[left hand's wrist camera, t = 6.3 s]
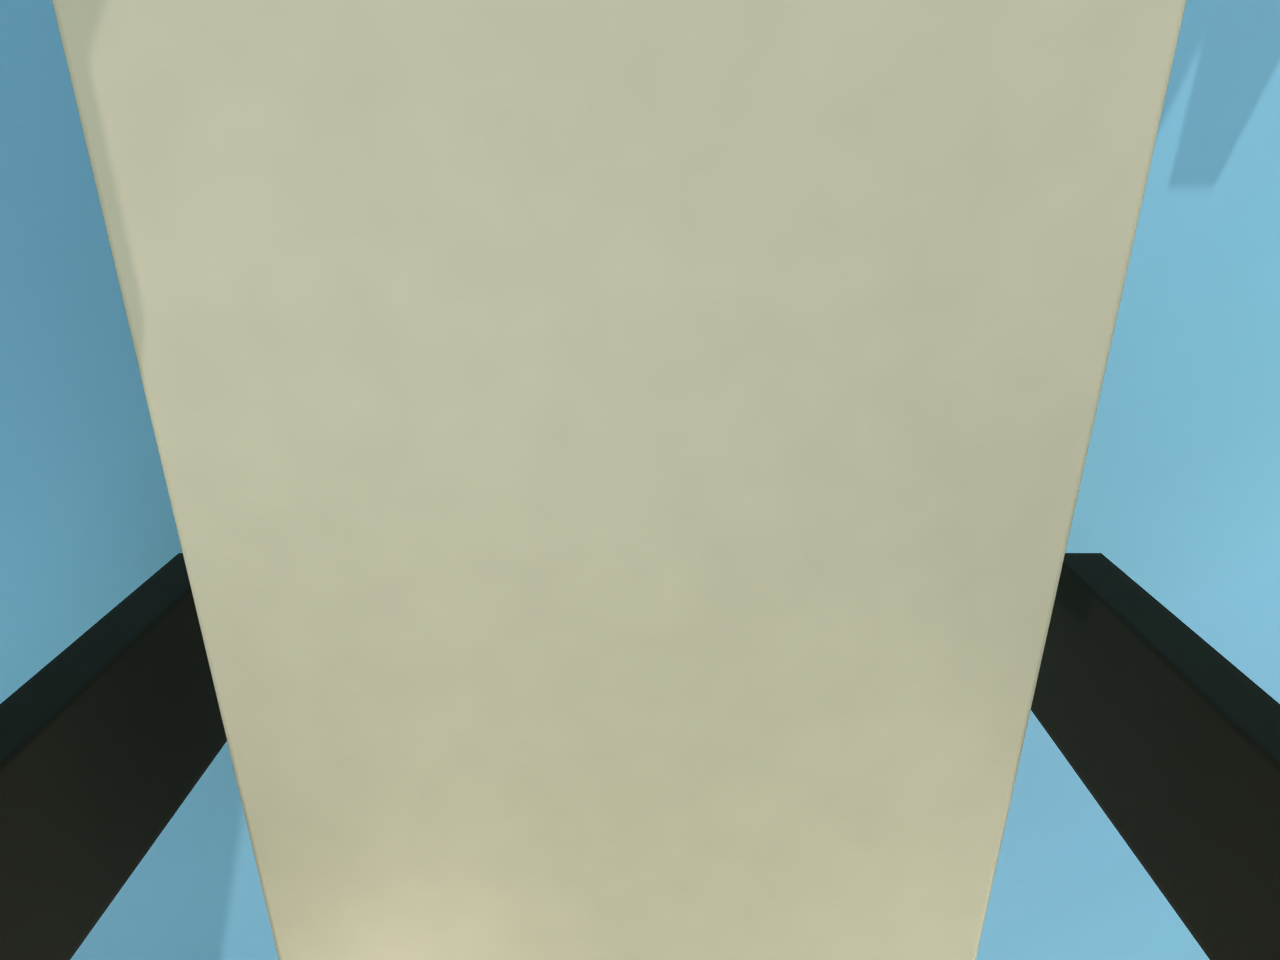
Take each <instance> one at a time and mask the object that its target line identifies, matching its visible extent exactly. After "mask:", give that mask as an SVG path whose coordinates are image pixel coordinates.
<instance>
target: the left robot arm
mask: <svg viewBox="0 0 1280 960" xmlns="http://www.w3.org/2000/svg"><path fill="white" fill-rule="evenodd" d="M1031 710H1032V712H1033V713H1034V715H1035V716H1036V717H1037V719H1038V720H1039V722H1040V723H1041V724H1042V726H1043V727H1044V729H1045V730H1046V731H1047V733H1048V734H1049V736H1050V737H1051V738H1052V740H1053V741H1054V742H1055V744H1056V745H1057V747H1058V748H1059V749H1060V751H1061V752H1062V754H1063V755H1064V756H1065V758H1066V759H1067V761H1068V762H1069V763H1070V765H1071V766H1072V768H1073V769H1074V770H1075V772H1076V773H1077V775H1078V776H1079V777H1080V779H1081V780H1082V782H1083V783H1084V784H1085V786H1086V787H1087V789H1088V790H1089V791H1090V793H1091V794H1092V796H1093V797H1094V798H1095V800H1096V801H1097V803H1098V804H1099V805H1100V807H1101V808H1102V810H1103V811H1104V812H1105V814H1106V815H1107V817H1108V818H1109V819H1110V821H1111V822H1112V824H1113V825H1114V826H1115V828H1116V829H1117V830H1118V832H1119V833H1120V835H1121V836H1122V837H1123V839H1124V840H1125V842H1126V843H1127V844H1128V846H1129V847H1130V849H1131V850H1132V851H1133V853H1134V854H1135V856H1136V857H1137V858H1138V860H1139V861H1140V863H1141V864H1142V865H1143V867H1144V868H1145V870H1146V871H1147V872H1148V874H1149V875H1150V877H1151V878H1152V879H1153V881H1154V882H1155V884H1156V885H1157V886H1158V888H1159V889H1160V891H1161V892H1162V893H1163V895H1164V896H1165V898H1166V899H1167V900H1168V902H1169V903H1170V905H1171V906H1172V907H1173V909H1174V910H1175V912H1176V913H1177V914H1178V916H1179V917H1180V918H1181V920H1182V921H1183V923H1184V924H1185V925H1186V927H1187V928H1188V930H1189V931H1190V932H1191V934H1192V935H1193V937H1194V938H1195V939H1196V941H1197V942H1198V944H1199V945H1200V946H1201V948H1202V949H1203V951H1204V952H1205V953H1206V955H1207V956H1208V958H1209V959H1210V960H1280V704H1279V703H1278V702H1276V701H1275V700H1274V699H1273V698H1272V697H1270V696H1269V695H1268V694H1267V693H1266V692H1265V691H1263V690H1262V689H1261V688H1260V687H1259V686H1257V685H1256V684H1255V683H1254V682H1253V681H1252V680H1250V679H1249V678H1248V677H1247V676H1246V675H1244V674H1243V673H1242V672H1241V671H1240V670H1239V669H1237V668H1236V667H1235V666H1234V665H1233V664H1231V663H1230V662H1229V661H1228V660H1227V659H1226V658H1224V657H1223V656H1222V655H1221V654H1220V653H1218V652H1217V651H1216V650H1215V649H1214V648H1212V647H1211V646H1210V645H1209V644H1208V643H1207V642H1205V641H1204V640H1203V639H1202V638H1201V637H1199V636H1198V635H1197V634H1196V633H1195V632H1194V631H1192V630H1191V629H1190V628H1189V627H1188V626H1186V625H1185V624H1184V623H1183V622H1182V621H1181V620H1179V619H1178V618H1177V617H1176V616H1175V615H1173V614H1172V613H1171V612H1170V611H1169V610H1168V609H1166V608H1165V607H1164V606H1163V605H1162V604H1160V603H1159V602H1158V601H1157V600H1156V599H1155V598H1153V597H1152V596H1151V595H1150V594H1149V593H1147V592H1146V591H1145V590H1144V589H1143V588H1142V587H1140V586H1139V585H1138V584H1137V583H1136V582H1134V581H1133V580H1132V579H1131V578H1130V577H1129V576H1127V575H1126V574H1125V573H1124V572H1123V571H1121V570H1120V569H1119V568H1118V567H1117V566H1116V565H1114V564H1113V563H1112V562H1111V561H1110V560H1108V559H1107V558H1106V557H1105V556H1104V555H1102V554H1101V553H1065V555H1064V560H1063V564H1062V569H1061V574H1060V578H1059V583H1058V587H1057V592H1056V596H1055V601H1054V605H1053V610H1052V614H1051V619H1050V624H1049V628H1048V633H1047V637H1046V642H1045V646H1044V651H1043V655H1042V660H1041V665H1040V669H1039V674H1038V678H1037V683H1036V687H1035V692H1034V696H1033V701H1032V706H1031ZM226 741H227V738H226V734H225V729H224V725H223V721H222V717H221V712H220V708H219V704H218V700H217V696H216V691H215V687H214V683H213V679H212V674H211V670H210V666H209V662H208V657H207V653H206V649H205V645H204V641H203V636H202V632H201V628H200V624H199V619H198V615H197V611H196V607H195V603H194V598H193V594H192V590H191V586H190V581H189V577H188V573H187V569H186V564H185V560H184V556H183V553H179V554H178V555H176V556H175V557H174V558H173V559H172V560H170V561H169V562H168V563H167V564H166V565H164V566H163V567H162V568H161V569H160V570H159V571H157V572H156V573H155V574H154V575H153V576H151V577H150V578H149V579H148V580H147V581H146V582H144V583H143V584H142V585H141V586H140V587H138V588H137V589H136V590H135V591H134V592H133V593H131V594H130V595H129V596H128V597H127V598H125V599H124V600H123V601H122V602H121V603H120V604H118V605H117V606H116V607H115V608H114V609H112V610H111V611H110V612H109V613H108V614H107V615H105V616H104V617H103V618H102V619H101V620H99V621H98V622H97V623H96V624H95V625H94V626H92V627H91V628H90V629H89V630H88V631H86V632H85V633H84V634H83V635H82V636H81V637H79V638H78V639H77V640H76V641H75V642H73V643H72V644H71V645H70V646H69V647H68V648H66V649H65V650H64V651H63V652H62V653H60V654H59V655H58V656H57V657H56V658H54V659H53V660H52V661H51V662H50V663H49V664H47V665H46V666H45V667H44V668H43V669H41V670H40V671H39V672H38V673H37V674H36V675H34V676H33V677H32V678H31V679H30V680H28V681H27V682H26V683H25V684H24V685H23V686H21V687H20V688H19V689H18V690H17V691H15V692H14V693H13V694H12V695H11V696H10V697H8V698H7V699H6V700H5V701H4V702H2V703H1V704H0V960H70V959H71V958H72V956H73V955H74V953H75V952H76V951H77V949H78V948H79V946H80V945H81V944H82V942H83V941H84V939H85V938H86V937H87V935H88V934H89V932H90V931H91V930H92V928H93V927H94V925H95V924H96V923H97V921H98V920H99V918H100V917H101V916H102V914H103V913H104V912H105V910H106V909H107V907H108V906H109V905H110V903H111V902H112V900H113V899H114V898H115V896H116V895H117V893H118V892H119V891H120V889H121V888H122V886H123V885H124V884H125V882H126V881H127V879H128V878H129V877H130V875H131V874H132V872H133V871H134V870H135V868H136V867H137V865H138V864H139V863H140V861H141V860H142V858H143V857H144V856H145V854H146V853H147V851H148V850H149V849H150V847H151V846H152V844H153V843H154V842H155V840H156V839H157V837H158V836H159V835H160V833H161V832H162V830H163V829H164V828H165V826H166V825H167V824H168V822H169V821H170V819H171V818H172V817H173V815H174V814H175V812H176V811H177V810H178V808H179V807H180V805H181V804H182V803H183V801H184V800H185V798H186V797H187V796H188V794H189V793H190V791H191V790H192V789H193V787H194V786H195V784H196V783H197V782H198V780H199V779H200V777H201V776H202V775H203V773H204V772H205V770H206V769H207V768H208V766H209V765H210V763H211V762H212V761H213V759H214V758H215V756H216V755H217V754H218V752H219V751H220V749H221V748H222V747H223V745H224V744H225V742H226Z"/></svg>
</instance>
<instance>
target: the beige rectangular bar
mask: <svg viewBox="0 0 1280 960" xmlns="http://www.w3.org/2000/svg"><path fill="white" fill-rule="evenodd" d="M52 2H53V6H54V11H55V15H56V19H57V23H58V27H59V32H60V36H61V40H62V44H63V49H64V53H65V57H66V61H67V65H68V70H69V74H70V78H71V82H72V87H73V91H74V95H75V99H76V104H77V108H78V112H79V116H80V120H81V125H82V129H83V133H84V137H85V142H86V146H87V150H88V154H89V159H90V163H91V167H92V171H93V175H94V180H95V184H96V188H97V192H98V197H99V201H100V205H101V209H102V213H103V218H104V222H105V226H106V230H107V235H108V239H109V243H110V247H111V252H112V256H113V260H114V264H115V268H116V273H117V277H118V281H119V285H120V290H121V294H122V298H123V302H124V307H125V311H126V315H127V319H128V323H129V328H130V332H131V336H132V340H133V345H134V349H135V353H136V357H137V361H138V366H139V370H140V374H141V378H142V383H143V387H144V391H145V395H146V400H147V404H148V408H149V412H150V416H151V421H152V425H153V429H154V433H155V438H156V442H157V446H158V450H159V455H160V459H161V463H162V467H163V471H164V476H165V480H166V484H167V488H168V493H169V497H170V501H171V505H172V509H173V514H174V518H175V522H176V526H177V531H178V535H179V539H180V543H181V548H182V552H183V556H184V560H185V564H186V569H187V573H188V577H189V581H190V586H191V590H192V594H193V598H194V603H195V607H196V611H197V615H198V619H199V624H200V628H201V632H202V636H203V641H204V645H205V649H206V653H207V657H208V662H209V666H210V670H211V674H212V679H213V683H214V687H215V691H216V696H217V700H218V704H219V708H220V712H221V717H222V721H223V725H224V729H225V734H226V738H227V742H228V746H229V751H230V755H231V759H232V763H233V767H234V772H235V776H236V780H237V784H238V789H239V793H240V797H241V801H242V805H243V810H244V814H245V818H246V822H247V827H248V831H249V835H250V839H251V844H252V848H253V852H254V856H255V860H256V865H257V869H258V873H259V877H260V882H261V886H262V890H263V894H264V899H265V903H266V907H267V911H268V915H269V920H270V924H271V928H272V932H273V937H274V941H275V945H276V949H277V953H278V958H279V960H976V956H977V951H978V947H979V942H980V938H981V933H982V929H983V924H984V919H985V915H986V910H987V906H988V901H989V897H990V892H991V888H992V883H993V878H994V874H995V869H996V865H997V860H998V856H999V851H1000V847H1001V842H1002V838H1003V833H1004V828H1005V824H1006V819H1007V815H1008V810H1009V806H1010V801H1011V797H1012V792H1013V787H1014V783H1015V778H1016V774H1017V769H1018V765H1019V760H1020V756H1021V751H1022V746H1023V742H1024V737H1025V733H1026V728H1027V724H1028V719H1029V715H1030V710H1031V706H1032V701H1033V696H1034V692H1035V687H1036V683H1037V678H1038V674H1039V669H1040V665H1041V660H1042V655H1043V651H1044V646H1045V642H1046V637H1047V633H1048V628H1049V624H1050V619H1051V614H1052V610H1053V605H1054V601H1055V596H1056V592H1057V587H1058V583H1059V578H1060V574H1061V569H1062V564H1063V560H1064V555H1065V551H1066V546H1067V542H1068V537H1069V533H1070V528H1071V523H1072V519H1073V514H1074V510H1075V505H1076V501H1077V496H1078V492H1079V487H1080V482H1081V478H1082V473H1083V469H1084V464H1085V460H1086V455H1087V451H1088V446H1089V441H1090V437H1091V432H1092V428H1093V423H1094V419H1095V414H1096V410H1097V405H1098V401H1099V396H1100V391H1101V387H1102V382H1103V378H1104V373H1105V369H1106V364H1107V360H1108V355H1109V350H1110V346H1111V341H1112V337H1113V332H1114V328H1115V323H1116V319H1117V314H1118V309H1119V305H1120V300H1121V296H1122V291H1123V287H1124V282H1125V278H1126V273H1127V269H1128V264H1129V259H1130V255H1131V250H1132V246H1133V241H1134V237H1135V232H1136V228H1137V223H1138V218H1139V214H1140V209H1141V205H1142V200H1143V196H1144V191H1145V187H1146V182H1147V177H1148V173H1149V168H1150V164H1151V159H1152V155H1153V150H1154V146H1155V141H1156V137H1157V132H1158V127H1159V123H1160V118H1161V114H1162V109H1163V105H1164V100H1165V96H1166V91H1167V86H1168V82H1169V77H1170V73H1171V68H1172V64H1173V59H1174V55H1175V50H1176V45H1177V41H1178V36H1179V32H1180V27H1181V23H1182V18H1183V14H1184V9H1185V4H1186V0H52Z"/></svg>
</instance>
